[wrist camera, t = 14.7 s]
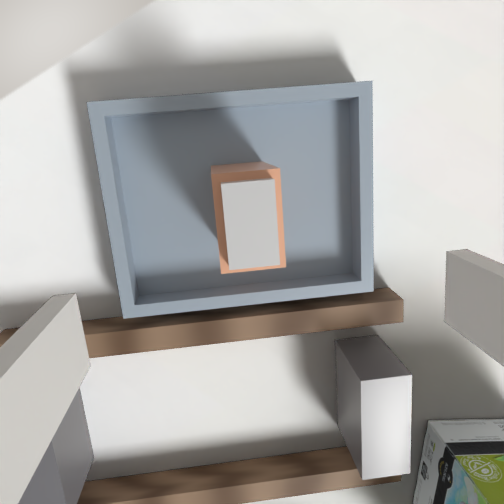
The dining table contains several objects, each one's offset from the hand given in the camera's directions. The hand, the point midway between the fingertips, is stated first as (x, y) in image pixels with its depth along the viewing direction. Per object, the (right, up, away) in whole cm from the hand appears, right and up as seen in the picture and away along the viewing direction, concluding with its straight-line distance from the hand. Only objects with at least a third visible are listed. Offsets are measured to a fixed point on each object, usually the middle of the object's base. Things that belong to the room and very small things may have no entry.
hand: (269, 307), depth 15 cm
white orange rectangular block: (-2, +6, +19) cm, 20 cm away
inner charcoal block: (-18, -13, +23) cm, 32 cm away
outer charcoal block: (+9, -10, +25) cm, 29 cm away
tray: (-2, +6, +20) cm, 21 cm away
